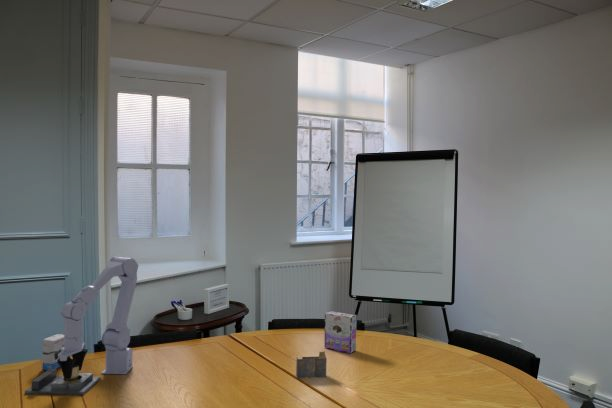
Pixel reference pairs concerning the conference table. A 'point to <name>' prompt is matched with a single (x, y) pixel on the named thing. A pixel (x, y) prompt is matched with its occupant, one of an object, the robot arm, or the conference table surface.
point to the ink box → (52, 351)
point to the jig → (61, 384)
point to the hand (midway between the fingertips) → (72, 374)
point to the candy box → (340, 331)
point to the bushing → (74, 374)
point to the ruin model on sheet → (311, 366)
